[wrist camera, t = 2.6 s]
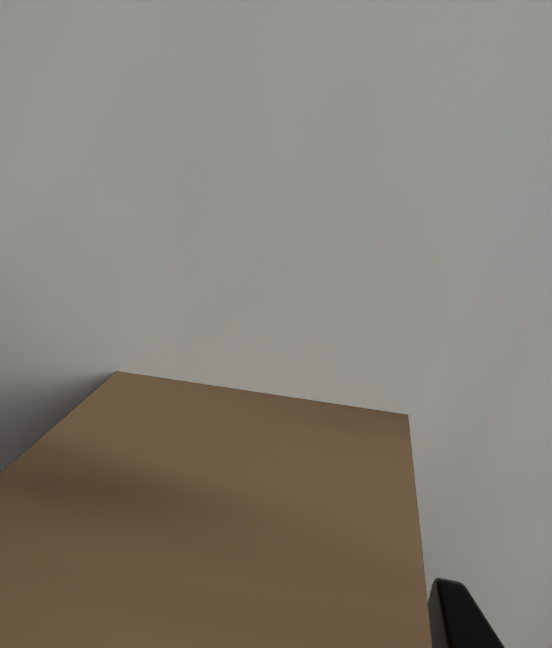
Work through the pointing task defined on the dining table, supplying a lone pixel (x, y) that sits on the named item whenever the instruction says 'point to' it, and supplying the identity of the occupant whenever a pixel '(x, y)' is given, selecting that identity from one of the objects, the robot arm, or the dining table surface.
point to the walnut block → (212, 524)
